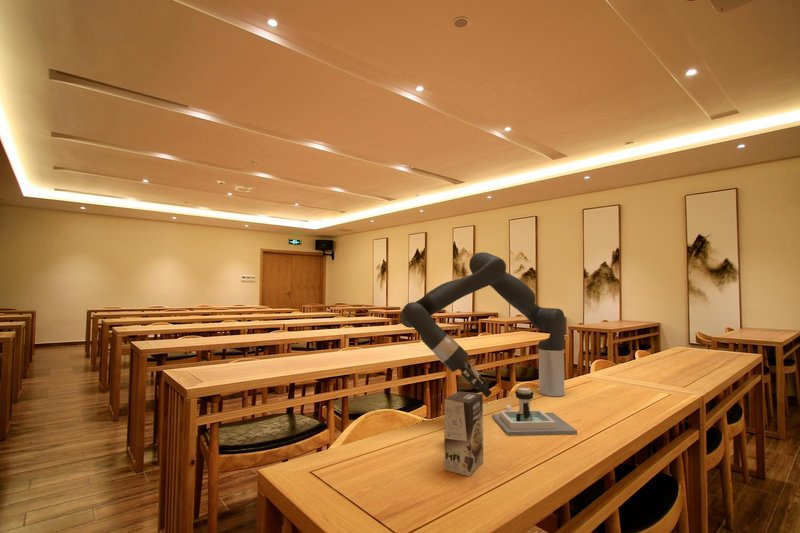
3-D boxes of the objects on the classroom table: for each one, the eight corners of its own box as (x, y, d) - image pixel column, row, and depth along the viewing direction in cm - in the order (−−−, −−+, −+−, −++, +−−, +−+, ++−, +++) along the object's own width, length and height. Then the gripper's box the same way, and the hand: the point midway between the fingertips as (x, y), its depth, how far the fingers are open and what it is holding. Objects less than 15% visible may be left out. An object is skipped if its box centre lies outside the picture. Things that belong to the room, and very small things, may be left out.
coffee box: (470, 477, 87) (469, 402, 88) (443, 470, 90) (443, 398, 91) (484, 461, 95) (483, 393, 96) (459, 455, 98) (459, 389, 99)
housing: (491, 416, 127) (491, 404, 127) (552, 415, 128) (552, 403, 128) (507, 435, 111) (507, 421, 111) (577, 434, 112) (576, 419, 112)
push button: (526, 418, 122) (526, 385, 123) (541, 423, 118) (540, 389, 118) (511, 422, 119) (511, 388, 119) (526, 427, 114) (525, 392, 115)
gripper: (458, 348, 115) (499, 388, 113) (458, 341, 130) (494, 377, 128) (440, 366, 116) (481, 407, 114) (441, 357, 130) (478, 393, 128)
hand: (488, 391), depth 121 cm, fingers open, 8 cm apart
